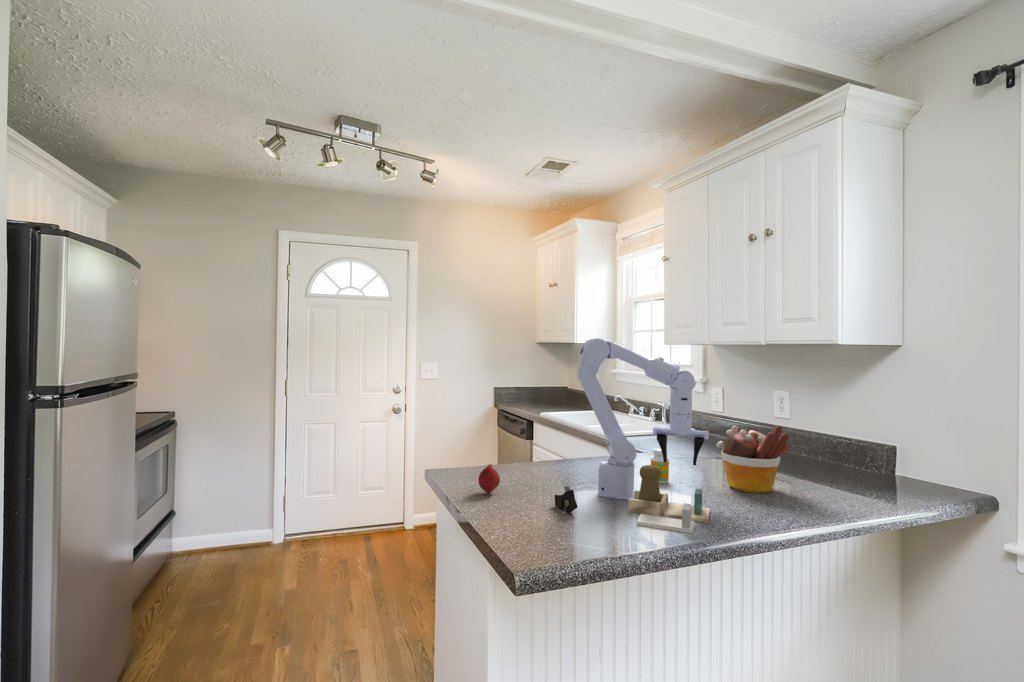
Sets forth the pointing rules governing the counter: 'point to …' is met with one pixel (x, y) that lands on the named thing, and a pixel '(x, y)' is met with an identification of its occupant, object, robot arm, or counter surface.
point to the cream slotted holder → (669, 507)
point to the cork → (650, 483)
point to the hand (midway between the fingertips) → (679, 463)
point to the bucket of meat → (752, 458)
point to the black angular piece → (566, 500)
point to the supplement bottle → (661, 465)
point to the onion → (489, 479)
